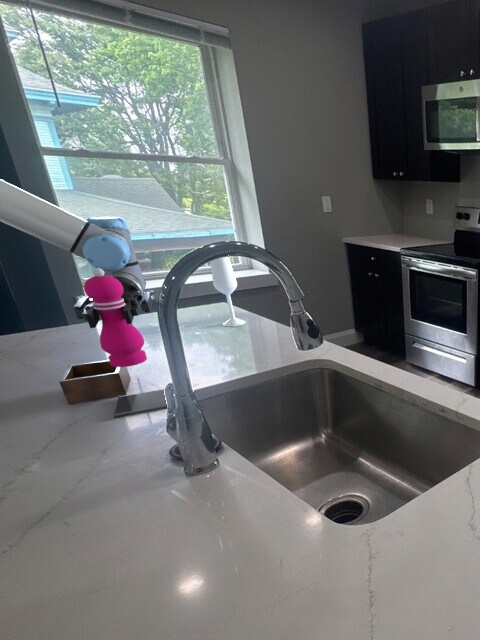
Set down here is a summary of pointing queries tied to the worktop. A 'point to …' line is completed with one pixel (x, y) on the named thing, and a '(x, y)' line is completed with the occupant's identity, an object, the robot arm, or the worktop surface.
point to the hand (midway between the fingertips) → (109, 319)
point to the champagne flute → (225, 285)
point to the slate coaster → (140, 403)
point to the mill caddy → (94, 381)
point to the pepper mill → (114, 321)
